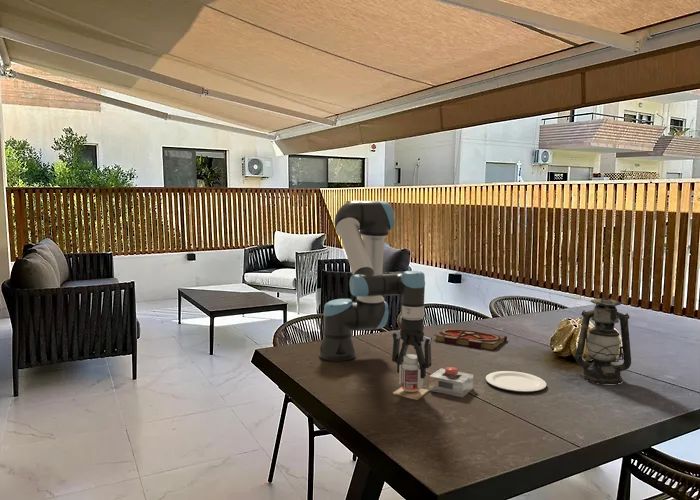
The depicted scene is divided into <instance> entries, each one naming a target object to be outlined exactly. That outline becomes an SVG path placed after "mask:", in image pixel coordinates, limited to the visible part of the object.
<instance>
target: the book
mask: <svg viewBox="0 0 700 500" xmlns="http://www.w3.org/2000/svg"><path fill="white" fill-rule="evenodd" d="M433 336H435V339H434V340H433V342H438V343H444V344H450V345H455V346H462V347H468V348H474V349H478V350H479V349H482V350H487V351H495V350H497V348H498V346H500V345H501V344H502V343H503V342H507V340H508V337H507V335H501V334H494V333H493V334H492V333H487V332H482V331H475V330H466V329H459V328H452V327H448V328H446V329H444V330H442V331H439V332H438V333H435V334H433ZM499 344H500V345H499Z"/></svg>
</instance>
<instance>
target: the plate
mask: <svg viewBox="0 0 700 500" xmlns="http://www.w3.org/2000/svg"><path fill="white" fill-rule="evenodd" d="M485 381H486V382H487V383H488V384H490V386H493V387H495V388H497V389H500V390H504V391H509V392H517V393H535V392H539V391H543V390H544V389H546V388H547V385H548V384H547V382H546V381H545V380H544V379H542V378H541V377H539V376H536V375H534V374H531V373H526V372H522V371H521V372H520V371H511V370H500V371H493V372H490V373H489V374H487V375H486V376H485Z"/></svg>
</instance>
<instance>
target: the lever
mask: <svg viewBox="0 0 700 500" xmlns="http://www.w3.org/2000/svg"><path fill="white" fill-rule="evenodd" d="M444 369H445V373H447V374H448V377H452V378H455V374H458V372H459V369H458V367H454V366H446V367H445V368H444Z"/></svg>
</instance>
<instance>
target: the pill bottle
mask: <svg viewBox="0 0 700 500" xmlns="http://www.w3.org/2000/svg"><path fill="white" fill-rule="evenodd" d="M403 361H404V362H402V363H403V364H402V384H401V387H402V389H403V390H405V391H409V392H415V391H418V390H419V389H420V388H417V384H418V368H420V365H419V362H418V358H417V354H412V353H411V354H410V353H406V354H405V355H404V359H403Z"/></svg>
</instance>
